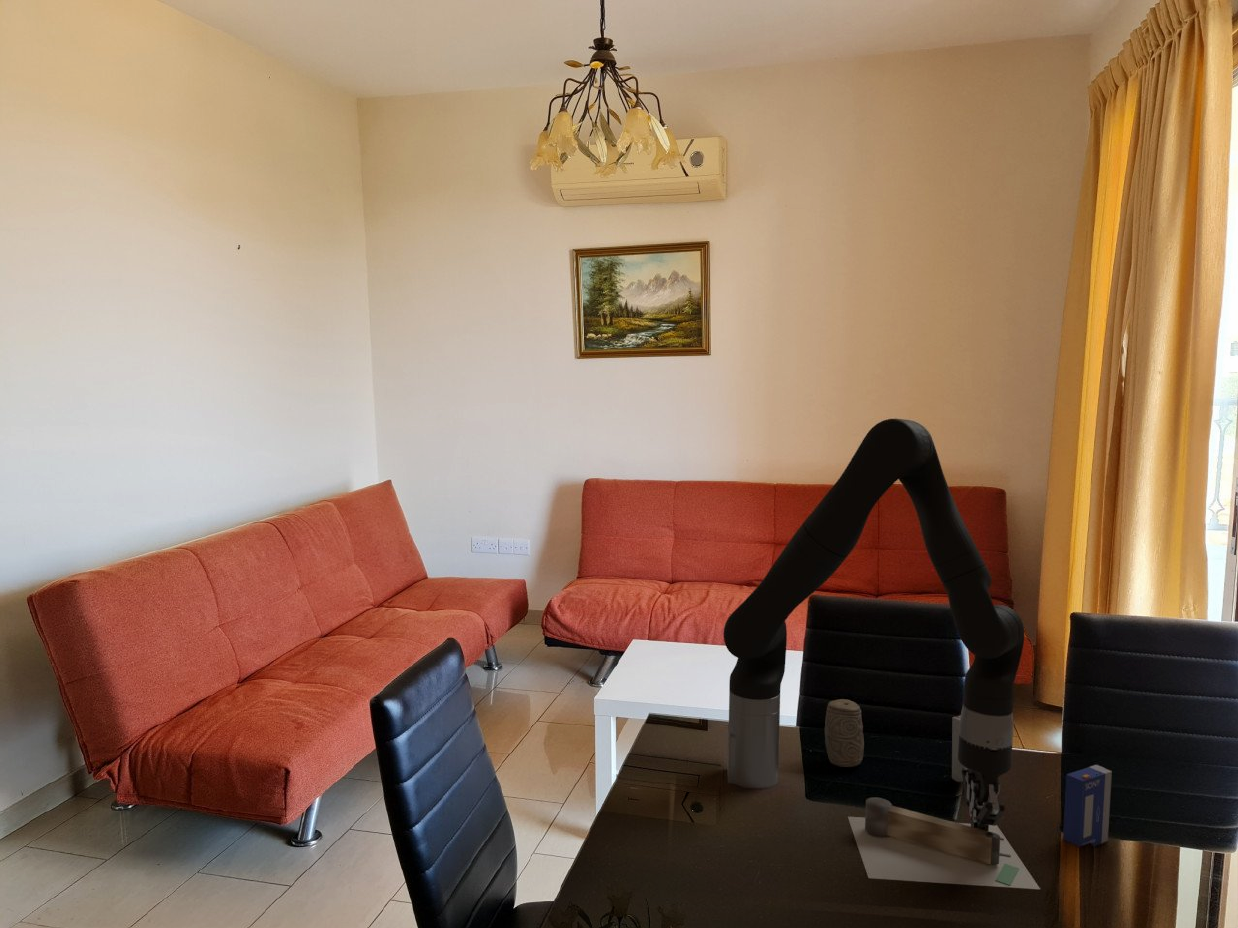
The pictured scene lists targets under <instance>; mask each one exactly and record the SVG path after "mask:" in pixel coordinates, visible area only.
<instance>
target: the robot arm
mask: <svg viewBox="0 0 1238 928" xmlns="http://www.w3.org/2000/svg"><path fill="white" fill-rule="evenodd" d="M862 439H863V440H862V441H861V442H860V445H859V446H858V448H857V450H856V451H855V452H854V454H853V456H852V457H851V459H850V461H849V463H848V464H847V466H846V468H845V469H844V471H843V472H842V474H841V475H840V477H839V478H838V479H837V480H836V482H835V483H834V485H833V486H832V487H831V488H830V489H829V490H828V492H827V493H826V494H825V495H824V496H823V498H821V500H820V502H819V503H818V504H817V506H816V507H815V508H814V509H813V510H812V512H810V514H809V515H808V517H806V519H805V520H804V521H803V522H802V523H801V526H800V527H799V528H798V529H797V530H796V532H795V533H794V535H792V537H791V539H790V540H789V541H788V543H787V544H786V546H784V549H782V551H781V553H780V554H779V555H778V557H777V559H776V560H775V562H773V564H772V566H771V567H770V568H769V570H768V572H767V574H766V575H765V576H764V578H763V579H762V581H761V582H760V583H759V585H757V587H756V588H755V589H754V590H753V591H752V592H751V593H749V594H750V595H749V596H747V598H745V600H744V601H743V602H741V603H740V605H739V606H738V607H737V608H736V609H735V610H734V611H732V613H731V614H730V615H729V616H728V617H727V619H726V621H725V624H724V628H723V642H724V644H725V647H726V649H727V650H728V652H729V653H730V654H731V655H732V656H733V657H735V658H737V660H736V663H735V666H734V668H733V669H732V671H731V673H730V675H729V682H728V683H729V690H728V691H729V692H728V693H729V697H728V698H729V699H728V725H727V757H726V758H727V759H726V761H727V763H726V764H727V765H726V767H727V768H726V770H727V771H726V772H727V773H726V774H727V783H728V784H733V785H737V786H740V787H742V788H748V789H767V788H770V787H773V786H775V785H776V784H777V783H778V782H779V758H780V721H781V720H780V716H781V711H780V710H781V687H782V686H781V685H782V681H783V679H784V676H785V670H786V657H787V641H788V638H787V635H788V632H787V629H788V628H787V623H786V621H787V619H788V618H789V616H790V615H791V614H792V613H793V611H794V610H795V609H796V608H797V607H799V606H800V604H802V603H803V602H804V601H806V599H808V598H809V597H810V596H811V595H813V593H815V592H816V591H817V590H818V589H819V588H820V587H821V586H823V585H824V584H825V583H826V581H828V579H830V578H831V577H832V576H833V575H834V574H835V572H836V571H837V570H838V569H839V568H840V566H841V565H842V564H843V563H844V562H845V561H846V559H847V558H848V557H849V555H850V554H851V553H852V552H853V550H854V548H855V547H856V545H857V544H858V542H859V539H860V538H861V535H862V533H863V530H864V528H865V525H866V523H867V520H868V518H869V517H870V516H869V515H870V514H871V512H872V510H873V509H874V506H875V505H877V503H878V502H879V500H880V499H881V498H882V497H883V496H884V494H885V493H886V492H887V491H888V490H889V489H890V488H891V487H892V486H893V485H894V484H895V483H896V482H897V481H898V480H899V482H900V483H901V484H902V486H903V488H904V489H905V490H906V493H907V494H908V496H909V498H910V500H911V502H912V505H913V506H914V509H915V511H916V514H917V518H918V522H919V525H920V530H921V533H922V538H923V542H924V545H925V549H926V551H927V555H928V556H929V559H930V561H931V563H932V566H933V568H934V570H935V572H936V574H937V576H938V577H939V580H940V582H941V583H942V586H943V587H944V589H945V592H946V593H947V594H946V595H947V597H948V604H949V607H950V612H951V615H952V619H953V623H954V625H955V629H956V632H957V634H958V637H959V638H960V640H961V642H962V643H963V645H964V646H965V647H966V650H968V651H969V652H970V653H971V654H972V655H974V659H973V662H972V664H971V666H970V667H969V668H968V669H967V671H966V673H965V675H964V683H963V697H962V698H963V699H962V707H961V708H962V709H961V712H960V716H961V717H960V731H959V747H958V760H959V762H960V763H961V764H962V765H963V766H964V767H966V768H962V776H963V782H962V783H963V790H964V796H965V805H966V808H969V812H968V813H969V816H970V824H971V827H974V828H978V829H982V830H985V831H988V830H989V825H992V826H995V825H998V824H997V823H998V822H999V820H1000V819H1001V817H1003V816H1002V815H1003V814H1004V813H1005V809H1006V808H1005V804H1004V803H1002V802H998V795H999V794H1000V791H1001V784H1000V782H999V777H1001V776H1002V775H1004V774H1007V773H1009V772H1010V770H1011V767H1012V756H1013V755H1012V754H1013V739H1014V716H1013V715H1014V712H1013V711H1014V710H1013V709H1014V695H1015V680H1016V677H1017V673H1018V671H1019V667H1020V662H1021V658H1022V654H1023V649H1024V644H1025V628H1024V624H1023V621H1022V618H1021V617H1020V615H1019V614H1018V613H1017V612H1016V611H1015V610H1014V609H1012V608H1010V607H1009V606H1006V605H1003V604H994V603H993V599H992V597H991V593H990V587H991V585H992V584H993V583H992V582H993V581H992V579H993V578H992V576H991V572H990V571H989V568H988V567H987V566H986V563H985V560H984V559H983V557H982V555H981V553H980V550H978V547H977V546H976V543H975V542H974V540H973V538H972V537H973V536H971V534H970V532H969V529H968V527H967V525H966V523H965V522H964V520H963V518H962V516H961V514H960V511H959V509H958V507H957V505H956V502H955V500H954V497H953V496H952V492H951V491H950V487H949V486H948V482H947V480H946V476H945V474H944V471H943V468H942V465H941V461H940V459H939V455H938V452H937V449H936V445H935V442H934V440H933V437H932V435H931V433H930V432H929V430H928V429H927V428H926V427H925V426H924V425H922V424H921V423H919V422H916V421H914V420H910V419H904V418H888V419H884V420H881V421H880V422H878V423H876V424H875V425H874V426H873V427H871V428H870V430H868V432H867V433H866V435H865V436H864V438H862Z"/></svg>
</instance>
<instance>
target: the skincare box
mask: <svg viewBox="0 0 1238 928" xmlns="http://www.w3.org/2000/svg"><path fill="white" fill-rule="evenodd" d="M960 717H961V715H956V716H953V717H951V719H952V724H951V726H952V727H951V734H952V736H951V737H952V738H951V740H952V741H951V742H952V743H951V745H952V746H951V752H952V753H951V778H952V780H953V781H955V782H957V783H963V776H962V768H966V767H964V766H963V765H962V764H961V763H960V762H959V760H958V747H959V731H960Z"/></svg>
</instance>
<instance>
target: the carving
mask: <svg viewBox="0 0 1238 928" xmlns="http://www.w3.org/2000/svg"><path fill="white" fill-rule="evenodd" d="M824 725H825V726H824V737H825V738H824V739H825V740H824V743H825V748H826V752H827V756H828V759H829V762H830V764H832V765H834V766H836V767H837V766H838V767H841V768H853V767H856V766H858V765H860V764H861V763H862V760H863V757H864V748H865V741H864V733H863V732H864V731H863V730H864V729H863V728H864V725H863V722H862V710H861V707H860V705H859V704H857V702H854V701H852V700H850V699H845V698H840V699H835V700H831V701H829V702H828V704H827V707H826V714H825V724H824Z"/></svg>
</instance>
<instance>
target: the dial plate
mask: <svg viewBox="0 0 1238 928" xmlns="http://www.w3.org/2000/svg"><path fill="white" fill-rule="evenodd" d="M847 818H848V822H849V825H850V828H851V830H852V833H853V836H854V840H855V843H856V846H857V848H858V852H859V854H860V857H861V860H862V863H863V866H864V869H865V872H866V875H867V877H868V879H873V880H890V881H891V880H892V881H904V882H918V883H919V882H920V883H935V884H937V883H938V884H947V885H949V884H951V885H967V886H982V887H996V888H997V887H999V888H1010V889H1011V888H1012V889H1025V890H1039V891H1040V890H1041V887H1040V886H1039V885H1038V883H1037V882H1036V881H1035V879H1034V878H1033V876H1032V875H1031V873H1030V872H1029V870H1028V869H1027V867H1026V866H1025V865H1024V862H1023V861H1022V860H1021V858H1020V857H1019V855H1018V854H1017V852H1016V851H1015V850H1014V848H1013V847H1012V845H1011V844H1010V842H1009V841H1008V840H1007V838H1006V836H1005V835H1004V834H1003V832H1002V831H1001V829H1000V828H999V826H998V824H996V825H995V826H992V825H989V830H988V831H989V832H993V833H996V834H998V835H999V836H1000V853H999V864H998V865H991V864H988V863H984V862H981V861H977V860H974V859H970V858H967V857H963V856H960V855H956V854H953V853H949V852H946V851H942V850H939V849H935V848H932V847H928V846H925V845H921V844H918V843H914V842H911V841H907V840H904V839H900V838H897V837H893V836H890V835H888V836H885V837H879V836H874V835H871V834H869V833H868V832H867V831H866V830H865V817H864V816H863V817H862V816H861V817H859V816H847ZM958 823H959V824H963V825H967V826H970V827H971V823H965V822H958Z"/></svg>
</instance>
